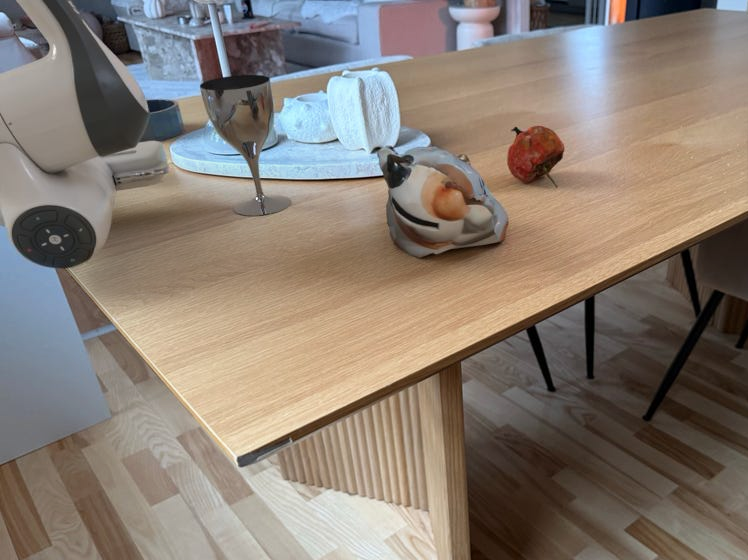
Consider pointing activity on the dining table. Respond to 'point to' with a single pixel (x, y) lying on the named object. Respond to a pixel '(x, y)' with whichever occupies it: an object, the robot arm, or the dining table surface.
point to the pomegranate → (534, 153)
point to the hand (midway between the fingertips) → (83, 154)
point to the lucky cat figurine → (438, 202)
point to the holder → (163, 120)
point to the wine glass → (245, 129)
